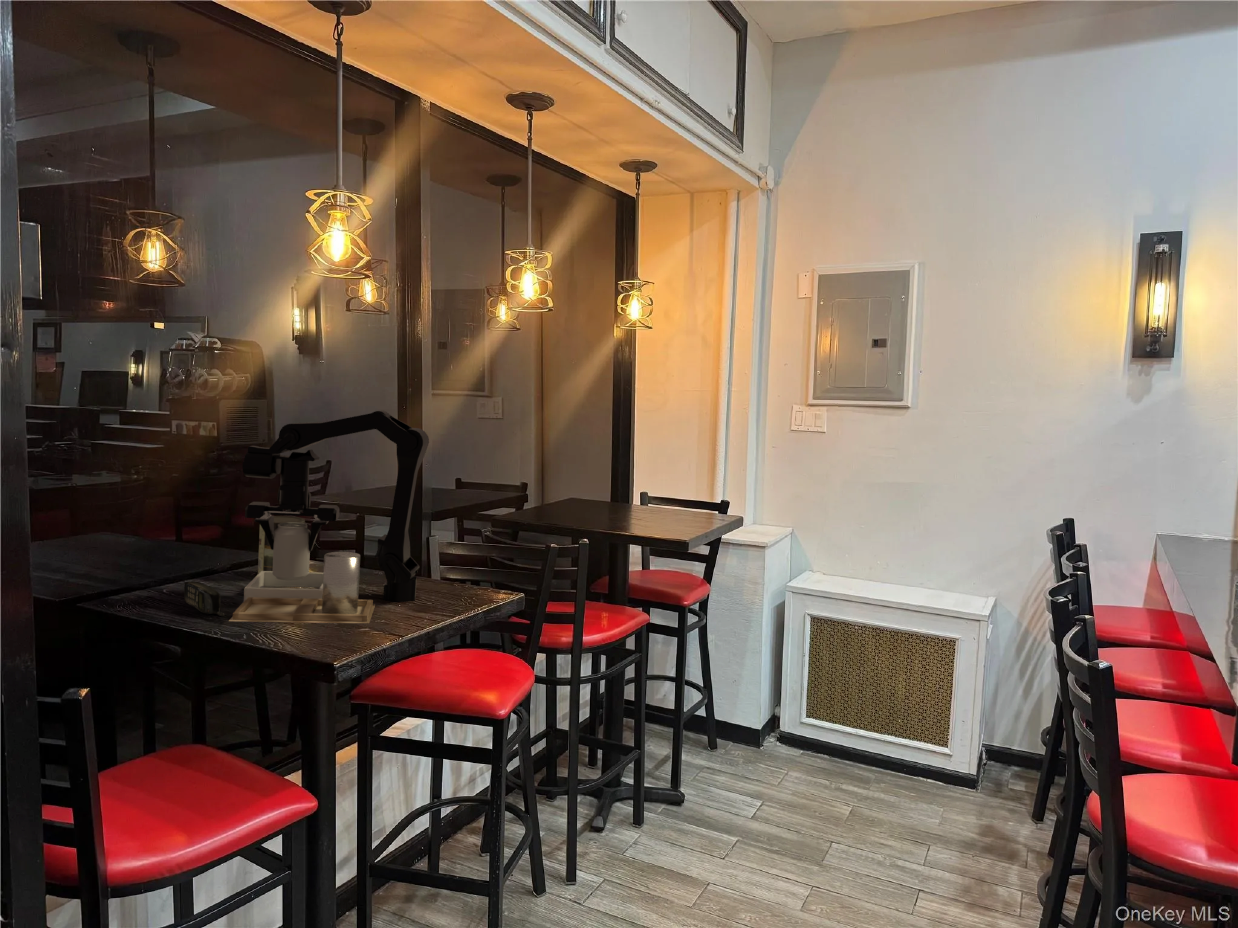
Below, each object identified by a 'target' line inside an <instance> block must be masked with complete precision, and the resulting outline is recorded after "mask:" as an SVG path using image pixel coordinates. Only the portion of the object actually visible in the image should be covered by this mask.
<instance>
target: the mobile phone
mask: <svg viewBox="0 0 1238 928" xmlns="http://www.w3.org/2000/svg"><path fill="white" fill-rule="evenodd" d="M183 592H184V593H183V594H184V597H183V599H184V603H186V604H187V605H189V606H191V607H193V608H195V609H197V610H198V611H199V612H200V613H203V614H208V615H211V614H212V615H214V614H216V615H217V616H220V617H225V613H224V612H221V594H220V593H219V591H217V590H215V588H213V587H212V586H211V587H210V586H208V585H207V584H205V583H203V582H201V581H195V580H193V581H186V582H184V591H183Z"/></svg>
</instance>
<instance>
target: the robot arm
mask: <svg viewBox="0 0 1238 928" xmlns="http://www.w3.org/2000/svg"><path fill="white" fill-rule="evenodd" d="M372 430H376V431H378V432H380V433H381V434H382V435H383V436H384V437H386V438H387V439H388V440H389V441H391V442H393V443H394V444H395V445H396V458H397V466H398V471H397V478H396V483H395V489H394V495H393V500H392V502H393V503H392V508H391V513H390V520H389V526H388V531H387V534H385V533H384V534H383V535H382V536H380V537H379V538H378V539H377V551H376V554H375V555H374V558H377V559H376V561H377V566H378V567H379V568H380V570H381V571H382V572H383V573H384V575H385V576H384V577H385V579H386V581H385V582H384V584H383V593H382V594H383V597H382V598H383V599H382V600H383V601H389V602H395V603H408V602H415V601H416V596H417V593H416V592H417V581H418V580H417V577H418V576H416V575H417V574H418V571H419V569H420V565H419V564H418V563H417V561H416V560H414V558H413V557H412V556H411V541H410V536H409V535H410V534H409V527H410V521H411V517H412V510H413V509H412V508H413V503H414V498H415V490H416V486H417V485H416V484H417V479H418V472H419V469H420V467H421V465H422V462H423V460H424V458H425V455H426V453H427V449H428V446H429V443H430V438H429V435H428V434H427V432H426V431H425V430H423V429H422V428H419V427H412V426H410V425H408V424H407V423H405V422H404V421H402V420H399V418H396V417H394V416H392V415H391V414H390V413H389V412H388V411H385V410H375V411H373V412H371V413H365V414H360V415H355V416H350V417H345V418H340V419H339V418H338V419H336V420H335V419H334V420H329V421H324V422H323V421H322V422H321V421H319V422H312V421H311V422H310V421H309V422H293V423H286V424H285V425H283V426H282V427H281V429H280V430H279V432H278V438H277V439H276V440H275V442H273V444H272V445H271V446H270V447H264V446H263V447H261V446H258V445H250V446H247V452H246V454H245V455H244V458H243V461H242V472H243V475H244V476H245V477H246V478H247V477H248V478H261V479H274V478H276V477H277V475H280V482H279V483H280V486H279V487H278V490H277V491H278V492H277V498H276V499H277V501H278V502H279V506H273V505H271V504H270V502H269V501H268V502H267V501H252V502H251V503H249V504H247V505H246V506H245V509H244V518H245V519H254V522H255V523H259V526H260V525H261V527H262V529H263V530H264V532H265V534H266V537H267V539H268V542H269V544H270V547H271V550H273V546H274V516H293V517H313V521H312V522H311V529H310V531H311V534H310V542H309V551H310V552H312V551H313V548H314V545H315V543H316V540H317V537H318V535H319V533H320V531H321V528H322V527H323V526H325V525H327V524H328V523H329V522H337V521H338V520H339V518H340V507H339V506H338V505H334V504H320V505H319V506H318V507H311V502H312V501H311V500H312V494H311V492H310V490H309V483H310V481H309V477H310V462H316V461H319V460H320V456H318V455H317V454H316V453H315V451H314V450H313V449H308V450H306V452H300V451H297V450H302V449H306V448H308V447H311V446H313V445H316V444H319V443H321V442H323V441H326V440H328V439H331V438H336V437H342V436H347V435H351V434H356V433H363V432H366V431H367V432H368V431H372ZM295 450H296V451H295ZM289 452H291V453H290V454H289V455H283V454H284V453H289Z"/></svg>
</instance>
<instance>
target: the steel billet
mask: <svg viewBox="0 0 1238 928" xmlns="http://www.w3.org/2000/svg"><path fill="white" fill-rule="evenodd" d="M323 555H324V556H323V572H322V573H323V592H322V614H357V612H358V600H359V589H360V571H361V569H360V568H361V566H360V565H361V554H360V553H357V552H351V551H333V552H328V553H325V554H323Z"/></svg>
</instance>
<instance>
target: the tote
mask: <svg viewBox="0 0 1238 928" xmlns="http://www.w3.org/2000/svg"><path fill="white" fill-rule="evenodd" d="M272 572H273V571H261V572H260V573H259V574H258V573H257V575H256V576H255V577H254V578H253V579H252V580H251V581H250V582H249V583H248V584H247V585H246V586H245V587H244V590H243V602H244V601H245V600H246V599H247V598H248V597H264V598H311V599H322V592H323V572H315V571H313V572H310V571H309V574H308V575H307V576H306V577H305V578H303V579H300V580H280V579H277V578H276V577H275V576H274V575H273V574H272Z"/></svg>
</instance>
